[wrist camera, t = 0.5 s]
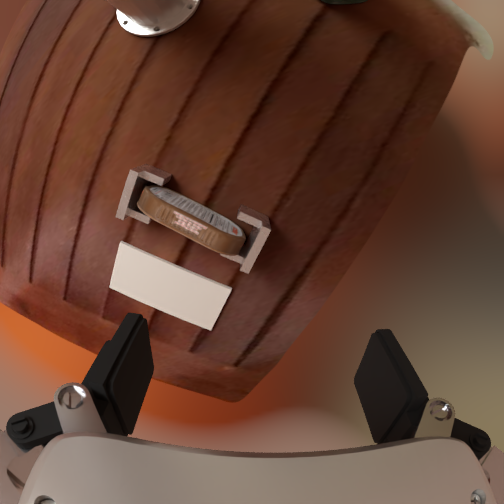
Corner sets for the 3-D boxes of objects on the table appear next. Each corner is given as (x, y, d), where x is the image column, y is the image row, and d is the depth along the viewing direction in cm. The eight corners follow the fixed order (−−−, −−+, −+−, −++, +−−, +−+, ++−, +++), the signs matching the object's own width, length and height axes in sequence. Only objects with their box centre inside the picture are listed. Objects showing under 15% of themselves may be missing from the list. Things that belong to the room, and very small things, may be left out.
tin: (147, 195, 40) (125, 211, 32) (156, 176, 39) (135, 187, 31) (238, 242, 43) (236, 268, 35) (249, 224, 42) (249, 246, 34)
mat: (110, 285, 46) (109, 287, 45) (121, 240, 42) (120, 242, 42) (211, 328, 49) (210, 330, 48) (231, 287, 46) (231, 289, 45)
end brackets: (248, 255, 44) (248, 273, 38) (132, 205, 40) (115, 216, 35) (268, 216, 41) (271, 230, 36) (146, 163, 38) (130, 169, 32)
